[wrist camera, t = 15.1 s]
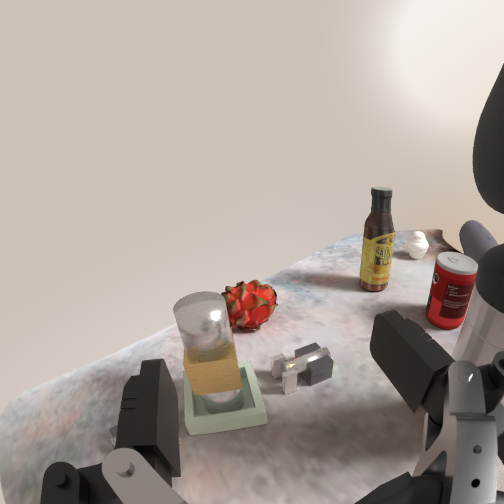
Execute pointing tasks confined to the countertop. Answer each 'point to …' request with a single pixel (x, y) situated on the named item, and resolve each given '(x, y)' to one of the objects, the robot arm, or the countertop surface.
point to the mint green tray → (246, 417)
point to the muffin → (417, 245)
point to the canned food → (451, 289)
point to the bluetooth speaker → (476, 240)
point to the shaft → (303, 367)
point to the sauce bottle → (377, 242)
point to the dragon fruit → (249, 304)
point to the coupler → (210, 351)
